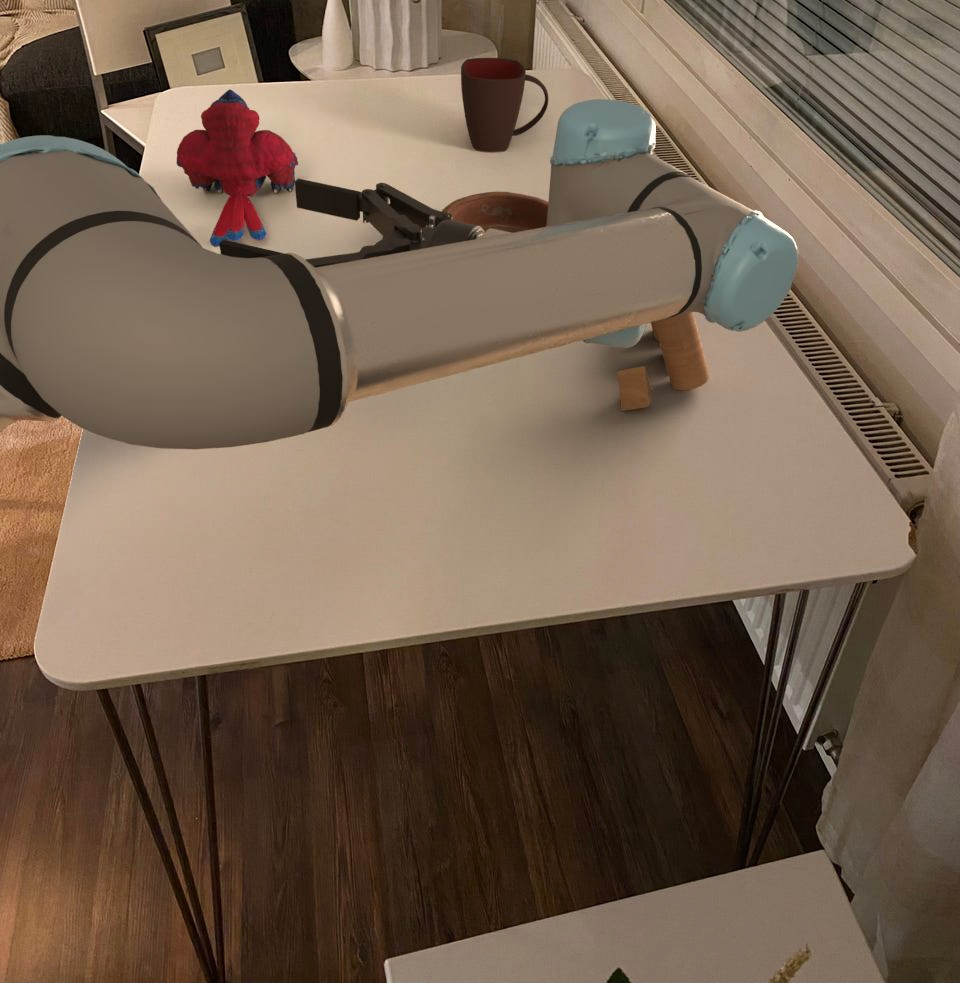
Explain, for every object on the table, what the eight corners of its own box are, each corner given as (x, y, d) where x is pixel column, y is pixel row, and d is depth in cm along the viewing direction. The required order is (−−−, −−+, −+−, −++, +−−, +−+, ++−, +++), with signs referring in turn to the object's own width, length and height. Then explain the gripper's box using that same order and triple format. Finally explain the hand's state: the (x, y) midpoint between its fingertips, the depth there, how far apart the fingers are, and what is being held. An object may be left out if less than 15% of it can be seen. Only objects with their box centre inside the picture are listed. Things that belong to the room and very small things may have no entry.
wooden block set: (647, 343, 119) (626, 268, 114) (717, 330, 116) (699, 252, 111) (625, 424, 106) (600, 343, 101) (704, 412, 102) (682, 328, 97)
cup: (458, 132, 160) (460, 56, 152) (541, 134, 161) (547, 58, 152) (460, 157, 152) (462, 79, 144) (547, 159, 153) (554, 81, 145)
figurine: (300, 105, 140) (287, 83, 122) (306, 247, 144) (294, 246, 127) (189, 104, 138) (160, 82, 121) (199, 247, 143) (173, 246, 126)
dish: (439, 297, 121) (440, 262, 118) (436, 216, 137) (436, 182, 134) (577, 298, 122) (582, 263, 119) (557, 217, 138) (561, 184, 135)
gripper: (421, 382, 78) (194, 323, 83) (518, 247, 96) (326, 205, 101) (422, 301, 73) (180, 244, 78) (524, 174, 91) (321, 134, 96)
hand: (262, 222), depth 90 cm, fingers open, 13 cm apart
